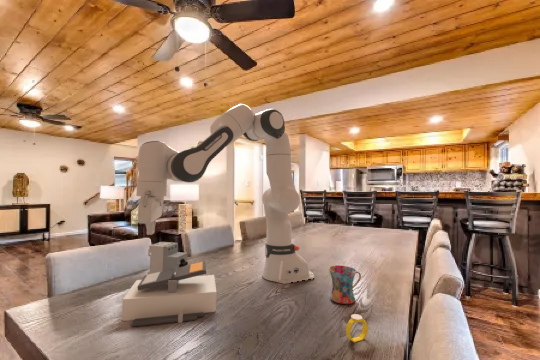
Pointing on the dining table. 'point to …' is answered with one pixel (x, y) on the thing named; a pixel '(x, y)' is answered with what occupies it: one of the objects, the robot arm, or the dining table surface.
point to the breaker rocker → (172, 275)
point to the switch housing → (171, 298)
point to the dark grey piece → (167, 319)
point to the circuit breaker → (165, 257)
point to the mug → (343, 284)
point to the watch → (348, 328)
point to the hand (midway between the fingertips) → (150, 234)
